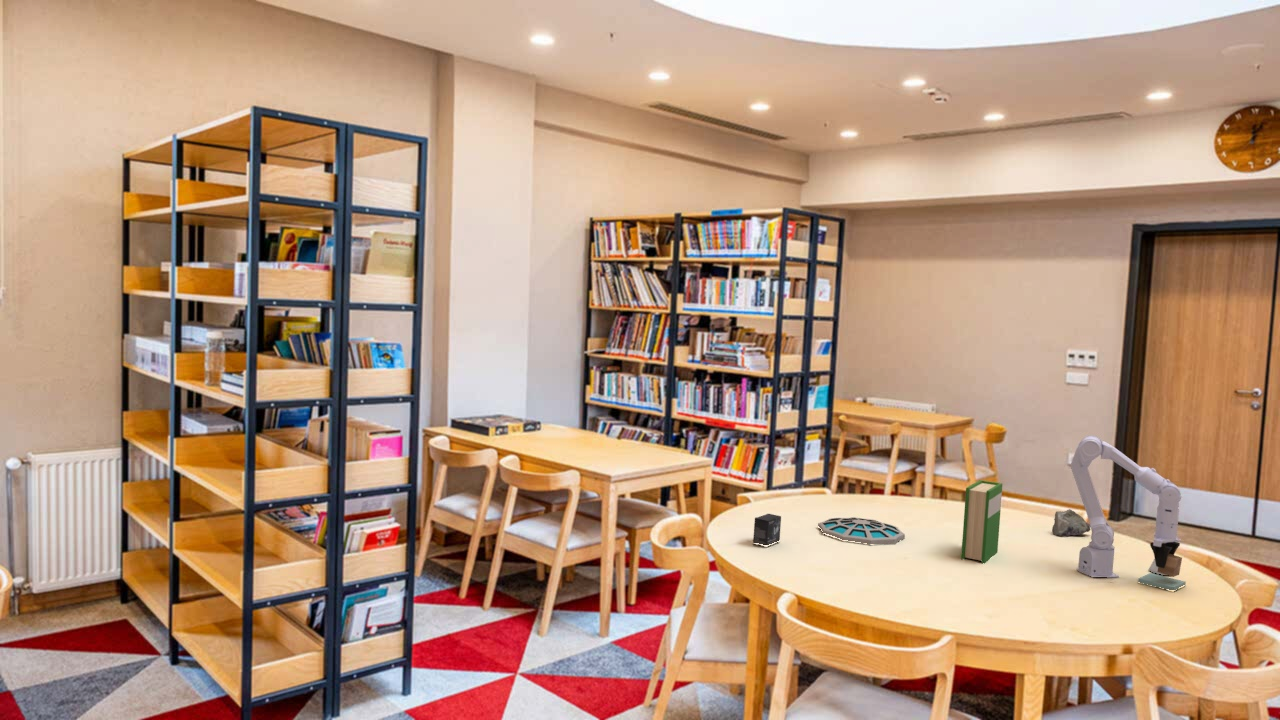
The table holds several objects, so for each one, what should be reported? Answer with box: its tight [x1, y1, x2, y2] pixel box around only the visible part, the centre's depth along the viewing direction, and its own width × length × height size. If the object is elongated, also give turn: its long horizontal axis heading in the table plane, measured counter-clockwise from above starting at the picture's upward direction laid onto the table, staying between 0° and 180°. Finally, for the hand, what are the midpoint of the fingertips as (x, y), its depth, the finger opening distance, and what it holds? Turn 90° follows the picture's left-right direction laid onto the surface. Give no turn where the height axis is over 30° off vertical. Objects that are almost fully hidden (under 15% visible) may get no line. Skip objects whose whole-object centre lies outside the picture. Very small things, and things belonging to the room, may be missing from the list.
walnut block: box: [1157, 554, 1183, 578], centre depth 263 cm, size 4×4×6 cm
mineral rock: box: [1051, 508, 1092, 537], centre depth 321 cm, size 13×11×10 cm
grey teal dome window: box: [817, 516, 906, 545], centre depth 310 cm, size 31×29×5 cm
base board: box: [1137, 572, 1187, 590], centre depth 265 cm, size 10×10×2 cm
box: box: [752, 513, 782, 545], centre depth 291 cm, size 9×6×10 cm, turn 143°
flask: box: [1147, 558, 1166, 576], centre depth 277 cm, size 7×7×10 cm
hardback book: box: [960, 480, 1003, 564], centre depth 288 cm, size 18×7×24 cm, turn 144°
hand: (1163, 565), depth 264 cm, fingers closed on walnut block, 5 cm apart
